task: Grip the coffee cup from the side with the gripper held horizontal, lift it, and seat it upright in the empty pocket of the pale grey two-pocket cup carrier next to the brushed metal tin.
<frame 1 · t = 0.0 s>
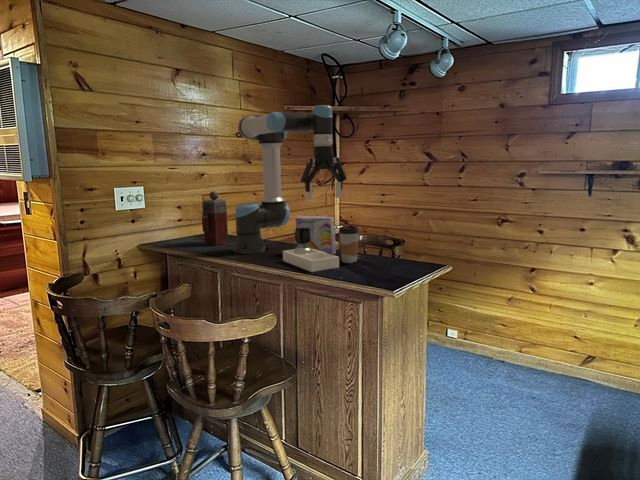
hand: (324, 199, 194), 28 cm above the countertop, tool pointing down, fingers open, 13 cm apart
cake pan box: (315, 254, 225), on the countertop
coffee cup: (349, 262, 207), on the countertop
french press: (215, 244, 256), on the countertop
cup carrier: (310, 264, 204), on the countertop
metal tin: (303, 259, 208), point 1 cm above the countertop, touching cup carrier
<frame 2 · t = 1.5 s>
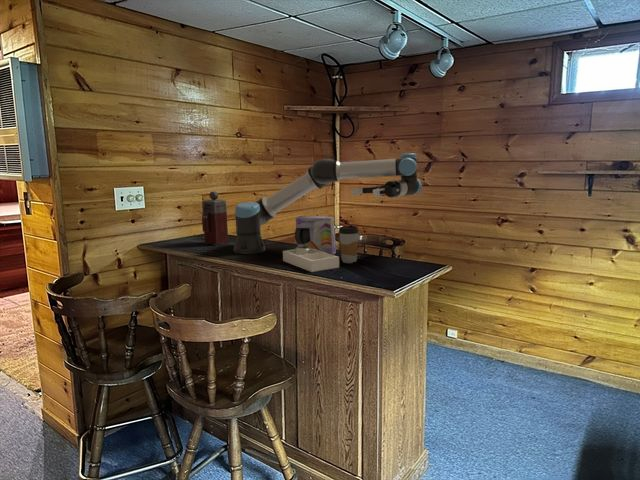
hand: (362, 192, 207), 29 cm above the countertop, tool horizontal, fingers open, 13 cm apart
nothing on the countertop moved.
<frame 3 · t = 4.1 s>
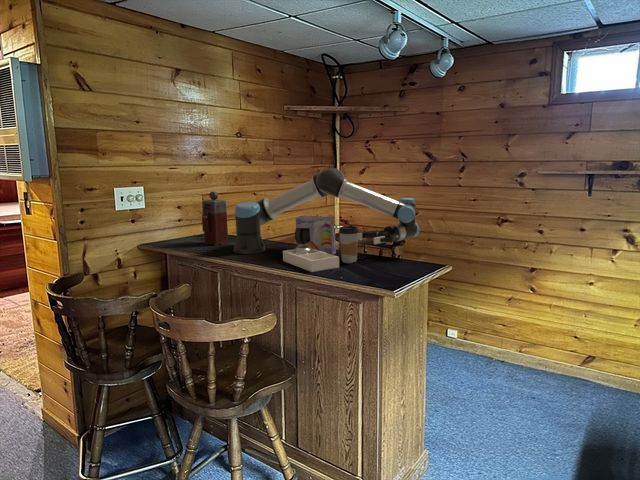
hand: (362, 239, 210), 9 cm above the countertop, tool horizontal, fingers open, 13 cm apart
nothing on the countertop moved.
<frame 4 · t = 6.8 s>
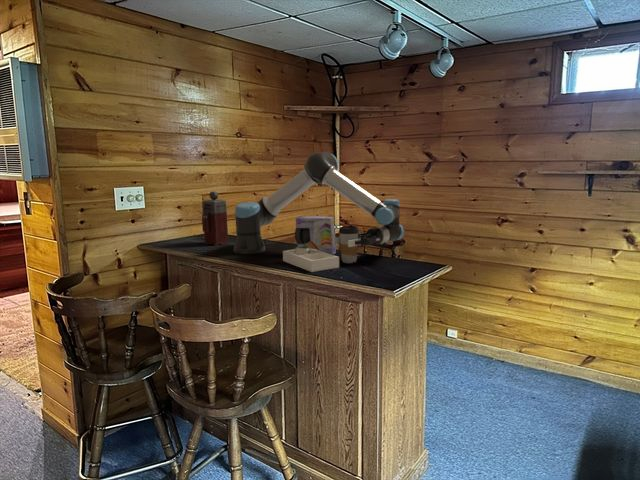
hand: (341, 242, 202), 9 cm above the countertop, tool horizontal, fingers closed on coffee cup, 8 cm apart
coffee cup: (349, 262, 207), on the countertop, touching gripper
everything else where it was.
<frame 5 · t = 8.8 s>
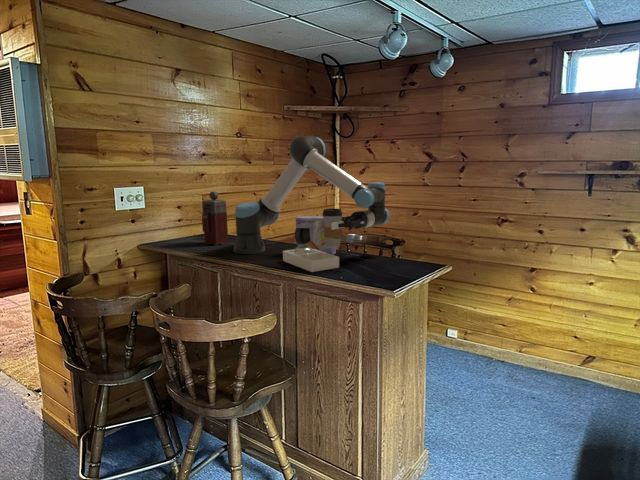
hand: (324, 225, 195), 17 cm above the countertop, tool horizontal, fingers closed on coffee cup, 8 cm apart
coffee cup: (332, 245, 200), point 8 cm above the countertop, touching gripper
everything else where it was.
when the fingers open (11 cm above the countertop, at t = 10.9 s): coffee cup drops 1 cm, resting on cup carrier.
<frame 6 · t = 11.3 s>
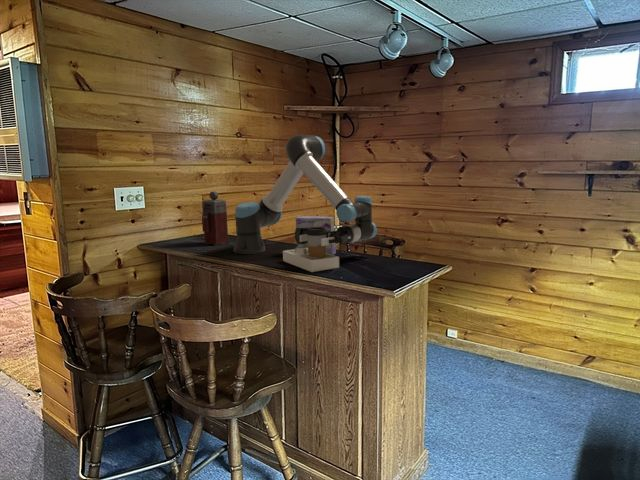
hand: (310, 240, 194), 11 cm above the countertop, tool horizontal, fingers open, 13 cm apart
coffee cup: (317, 264, 198), point 1 cm above the countertop, touching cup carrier
everything else where it was.
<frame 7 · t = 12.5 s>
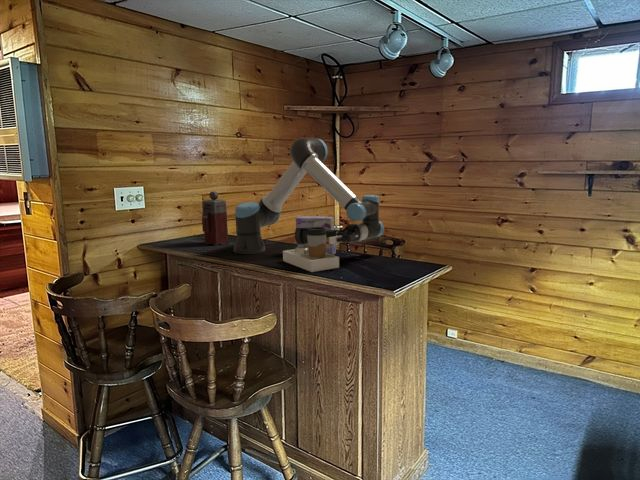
hand: (318, 238, 197), 12 cm above the countertop, tool horizontal, fingers open, 13 cm apart
nothing on the countertop moved.
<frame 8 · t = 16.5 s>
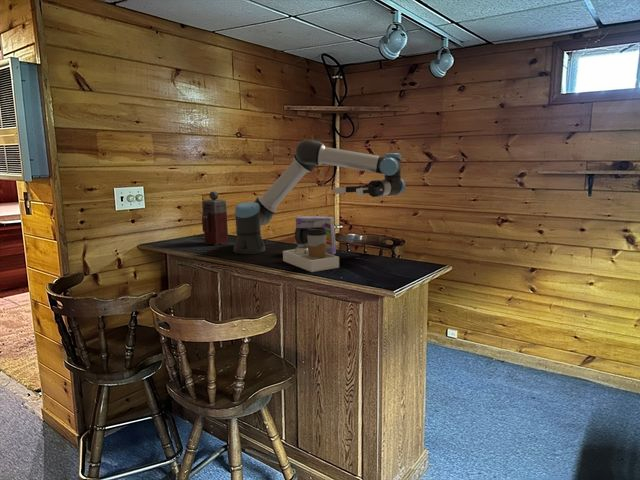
hand: (345, 191, 205), 30 cm above the countertop, tool horizontal, fingers open, 13 cm apart
nothing on the countertop moved.
at the end: coffee cup 0.1 cm from the target spot on the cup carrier, point 0.8 cm above the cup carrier's base; coffee cup tilted 0°; the gripper is holding nothing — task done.
